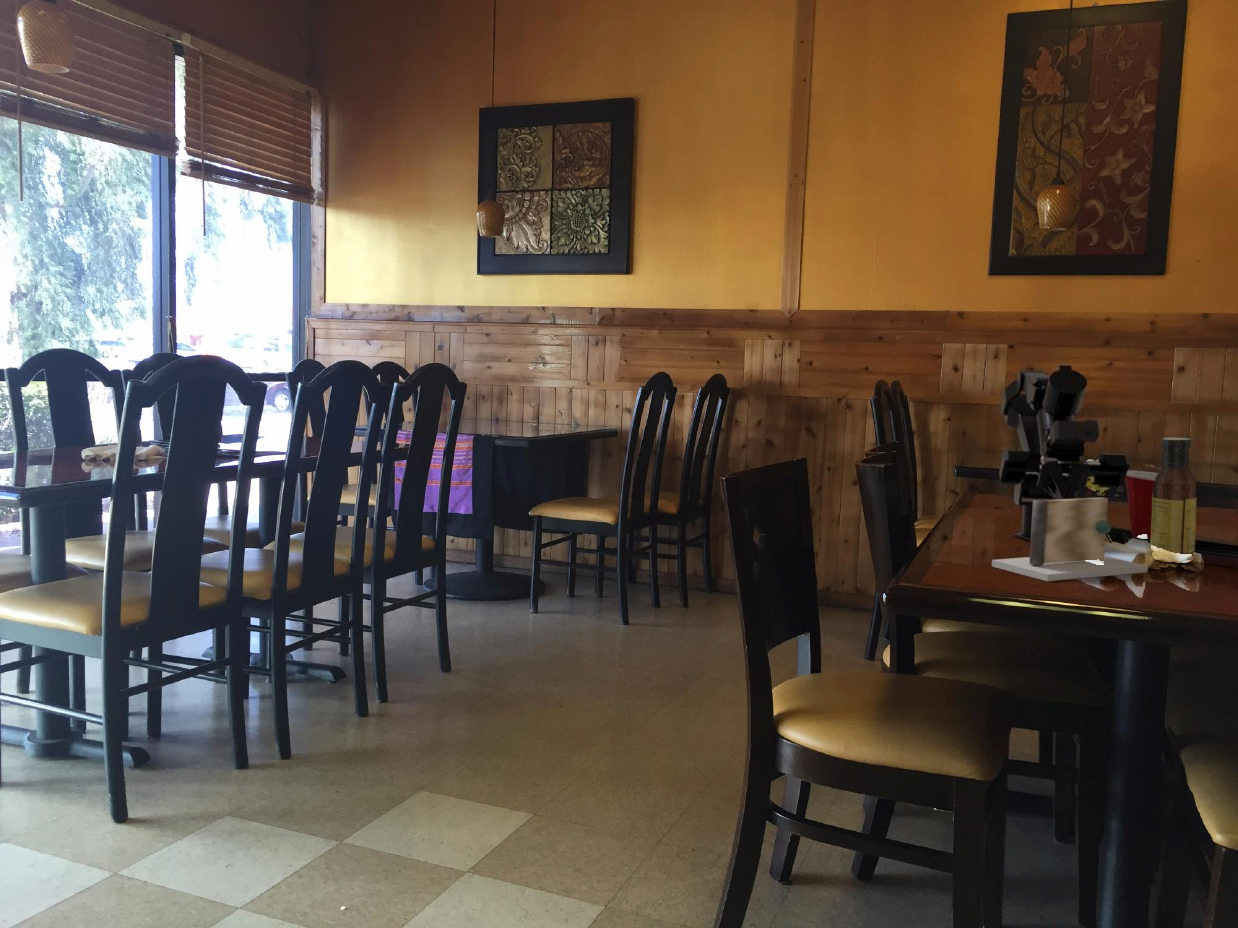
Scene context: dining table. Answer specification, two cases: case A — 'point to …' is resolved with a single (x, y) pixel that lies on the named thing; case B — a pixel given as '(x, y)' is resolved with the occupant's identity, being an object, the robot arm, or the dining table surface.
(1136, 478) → the plastic cup
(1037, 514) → the door
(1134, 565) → the board
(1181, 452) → the sauce bottle
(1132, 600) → the dining table surface
